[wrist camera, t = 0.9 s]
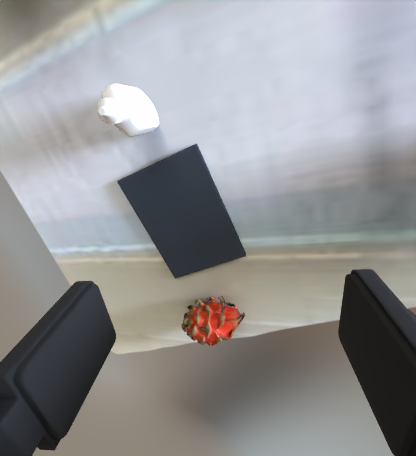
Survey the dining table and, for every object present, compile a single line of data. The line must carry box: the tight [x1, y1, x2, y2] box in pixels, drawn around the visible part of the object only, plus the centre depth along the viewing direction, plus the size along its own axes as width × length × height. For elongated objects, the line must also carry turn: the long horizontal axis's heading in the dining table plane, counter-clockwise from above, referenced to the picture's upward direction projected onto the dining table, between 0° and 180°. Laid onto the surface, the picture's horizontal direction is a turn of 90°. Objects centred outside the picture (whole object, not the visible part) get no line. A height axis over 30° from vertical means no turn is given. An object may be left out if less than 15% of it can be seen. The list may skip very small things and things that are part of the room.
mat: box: [117, 144, 246, 278], centre depth 41 cm, size 20×14×1 cm
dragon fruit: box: [182, 296, 245, 346], centre depth 46 cm, size 8×8×12 cm
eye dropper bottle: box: [97, 83, 159, 137], centre depth 29 cm, size 4×6×12 cm
